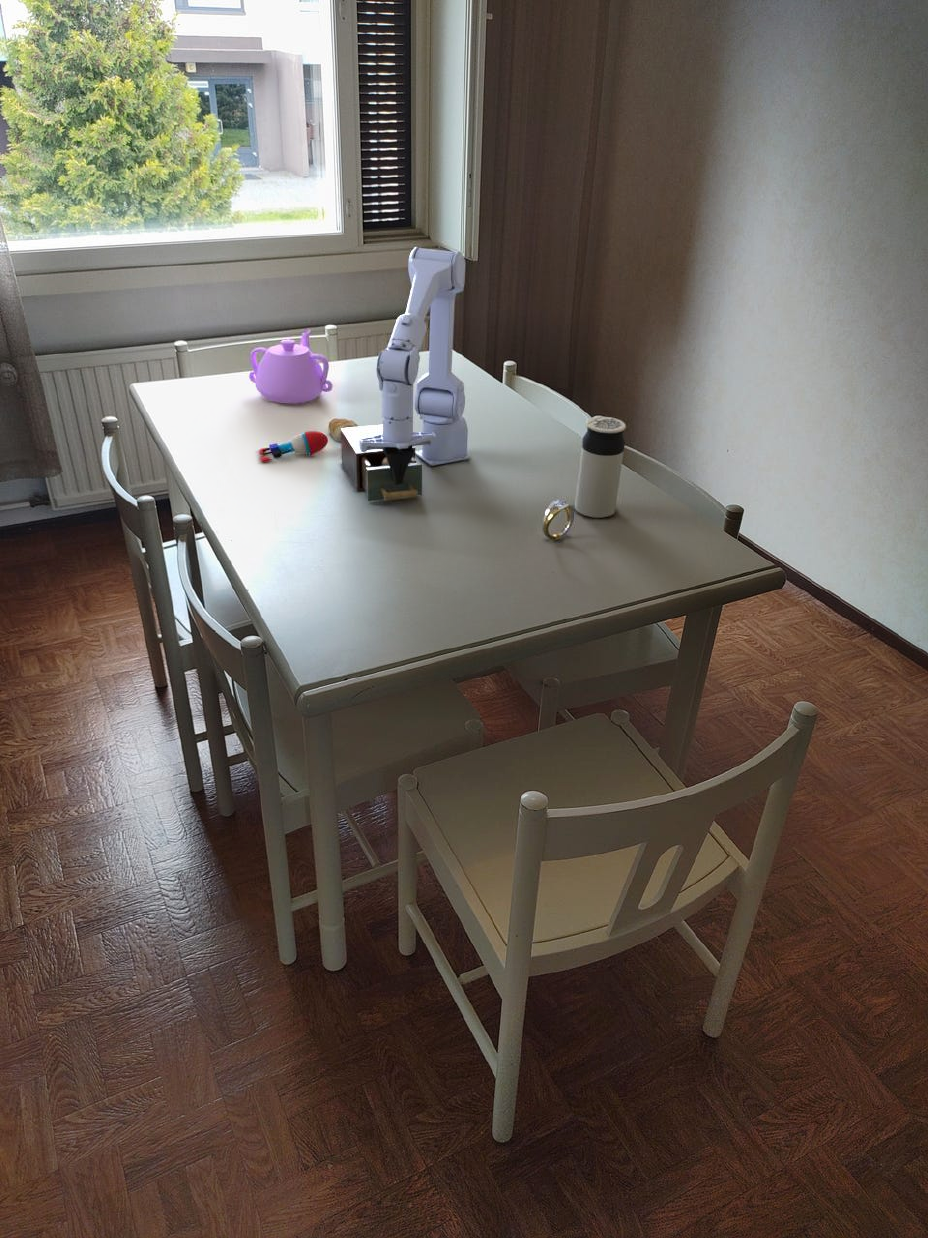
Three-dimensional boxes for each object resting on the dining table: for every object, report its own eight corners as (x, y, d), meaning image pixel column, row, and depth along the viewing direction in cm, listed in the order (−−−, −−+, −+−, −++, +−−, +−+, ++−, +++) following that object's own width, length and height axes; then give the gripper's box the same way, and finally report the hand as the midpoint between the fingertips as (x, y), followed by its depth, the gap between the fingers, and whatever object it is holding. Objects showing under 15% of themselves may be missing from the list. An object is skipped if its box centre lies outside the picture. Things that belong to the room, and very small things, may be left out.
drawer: (428, 504, 177) (429, 473, 174) (374, 511, 174) (373, 479, 170) (403, 469, 191) (404, 440, 187) (352, 475, 187) (351, 445, 184)
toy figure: (264, 471, 193) (332, 454, 195) (258, 449, 190) (327, 432, 193) (260, 459, 199) (327, 443, 202) (254, 438, 197) (322, 422, 199)
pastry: (321, 429, 210) (321, 413, 208) (349, 425, 213) (348, 409, 211) (336, 443, 203) (336, 427, 201) (364, 439, 206) (364, 423, 204)
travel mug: (622, 511, 180) (635, 424, 170) (597, 522, 175) (609, 434, 166) (591, 497, 185) (602, 412, 175) (566, 508, 180) (576, 422, 170)
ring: (546, 547, 166) (550, 507, 162) (536, 539, 168) (539, 500, 164) (576, 538, 170) (581, 499, 165) (565, 531, 172) (569, 492, 167)
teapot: (350, 384, 237) (348, 331, 229) (320, 412, 219) (317, 355, 211) (271, 375, 241) (267, 322, 233) (236, 401, 223) (230, 345, 215)
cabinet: (415, 485, 186) (415, 447, 182) (357, 491, 183) (356, 453, 178) (396, 459, 197) (396, 423, 193) (341, 464, 194) (340, 428, 189)
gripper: (364, 425, 163) (366, 494, 170) (441, 419, 167) (439, 486, 175) (355, 412, 168) (357, 479, 176) (429, 405, 173) (428, 472, 180)
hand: (397, 482), depth 175 cm, fingers closed, pressing on drawer
